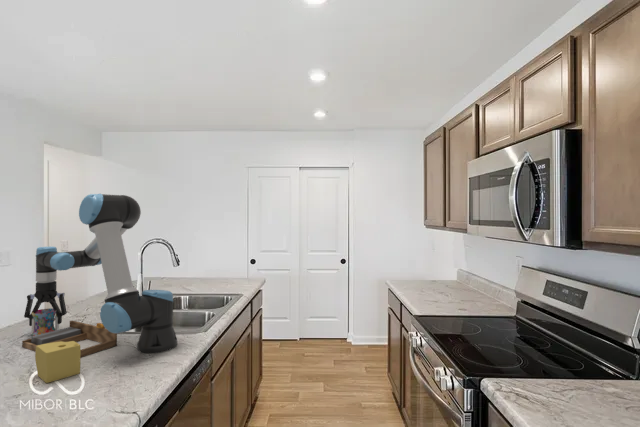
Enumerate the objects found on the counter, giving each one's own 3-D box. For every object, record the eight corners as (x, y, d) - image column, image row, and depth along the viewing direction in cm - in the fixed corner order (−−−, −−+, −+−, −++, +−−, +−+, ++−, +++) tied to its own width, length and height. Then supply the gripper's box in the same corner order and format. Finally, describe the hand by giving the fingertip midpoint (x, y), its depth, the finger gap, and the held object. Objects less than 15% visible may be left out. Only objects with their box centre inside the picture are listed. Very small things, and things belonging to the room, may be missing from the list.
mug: (45, 338, 161) (45, 313, 161) (25, 338, 161) (25, 313, 161) (66, 330, 172) (66, 307, 173) (47, 329, 173) (47, 306, 173)
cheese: (70, 365, 132) (71, 337, 132) (82, 374, 125) (82, 344, 125) (34, 375, 124) (35, 345, 124) (44, 385, 117) (44, 353, 117)
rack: (117, 345, 152) (117, 326, 152) (66, 361, 135) (67, 340, 135) (72, 333, 167) (72, 316, 167) (21, 347, 150) (22, 328, 150)
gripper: (75, 278, 174) (75, 327, 173) (22, 280, 167) (21, 331, 167) (70, 281, 166) (69, 332, 166) (14, 283, 160) (13, 336, 160)
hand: (45, 331), depth 167 cm, fingers closed on mug, 8 cm apart
